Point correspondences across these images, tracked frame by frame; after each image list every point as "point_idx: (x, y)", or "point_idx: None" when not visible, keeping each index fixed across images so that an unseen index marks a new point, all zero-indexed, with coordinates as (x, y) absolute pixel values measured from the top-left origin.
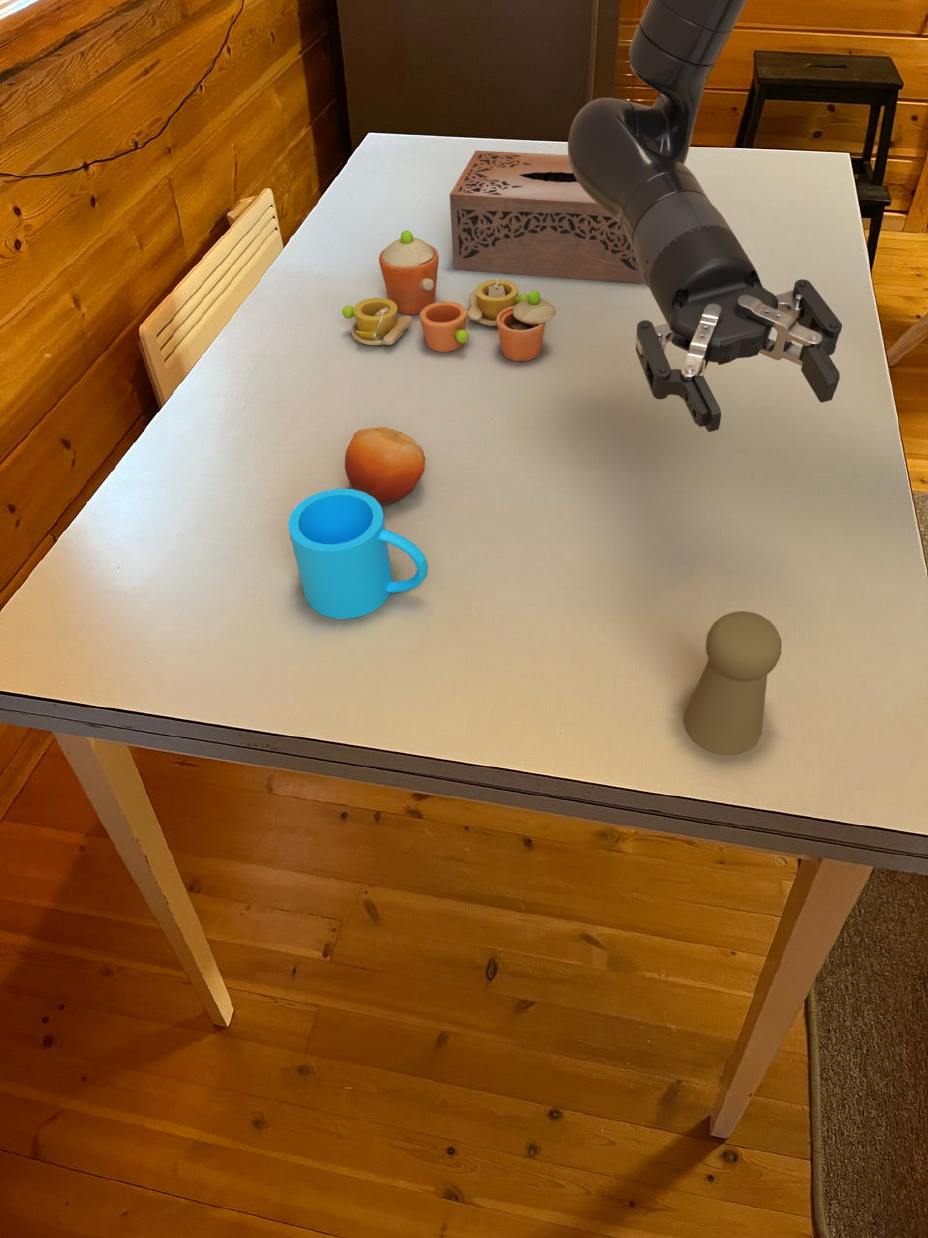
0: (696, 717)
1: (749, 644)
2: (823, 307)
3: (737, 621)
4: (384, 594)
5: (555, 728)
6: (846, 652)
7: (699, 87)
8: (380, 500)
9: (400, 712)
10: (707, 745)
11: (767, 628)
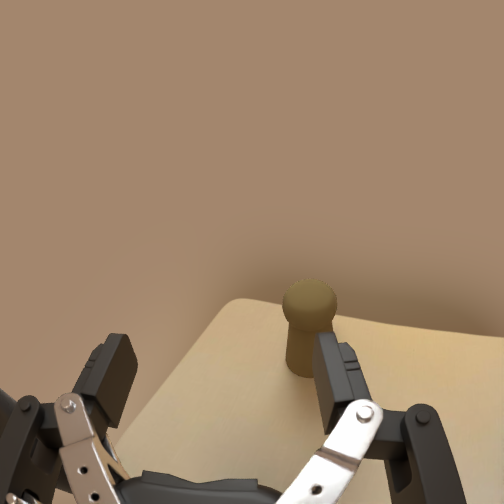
0: None
1: (311, 282)
2: (4, 446)
3: (314, 298)
4: None
5: (416, 353)
6: (202, 397)
7: None
8: None
9: (499, 356)
10: None
11: (293, 294)
